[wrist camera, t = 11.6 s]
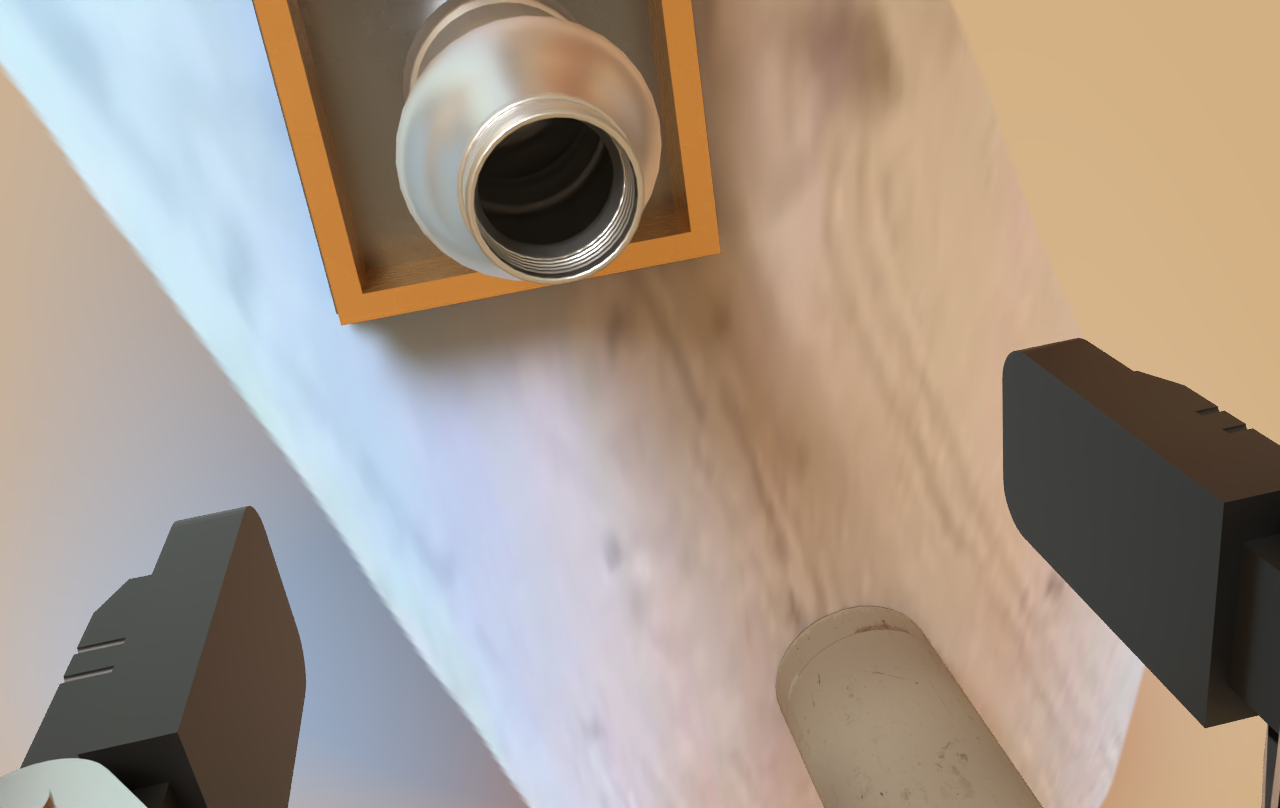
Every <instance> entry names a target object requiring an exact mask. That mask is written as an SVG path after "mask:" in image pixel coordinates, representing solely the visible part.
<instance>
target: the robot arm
mask: <svg viewBox="0 0 1280 808" xmlns="http://www.w3.org/2000/svg"><path fill="white" fill-rule="evenodd" d="M1002 382H1003V480H1004V491H1005V496H1006V501H1007V504H1008V508H1009V511H1010V514H1011V516H1012V518H1013V521H1014V523H1015V525H1016V527H1017V528H1018V530H1019V532H1020V533H1021V534H1022V536H1023V537H1024V538H1025V539H1026V540H1027V541H1028V542H1029V543H1030V544H1031V545H1032V547H1033V548H1034V549H1035V550H1036V551H1037V552H1038V553H1039V554H1040V555H1041V556H1042V557H1043V558H1044V559H1045V560H1046V561H1047V562H1048V563H1049V564H1050V565H1051V567H1052V568H1053V569H1054V570H1055V571H1056V572H1057V573H1058V574H1059V575H1060V576H1061V577H1062V578H1063V579H1064V580H1065V581H1066V582H1067V583H1068V584H1069V585H1070V587H1071V588H1072V589H1073V590H1074V591H1075V592H1076V593H1077V594H1078V595H1079V596H1080V597H1081V598H1082V599H1083V600H1084V601H1085V602H1086V603H1087V604H1088V606H1089V607H1090V608H1091V609H1092V610H1093V611H1094V612H1095V613H1096V614H1097V615H1098V616H1099V617H1100V618H1101V619H1102V620H1103V621H1104V622H1105V623H1106V624H1107V626H1108V627H1109V628H1110V629H1111V630H1112V631H1113V632H1114V633H1115V634H1116V635H1117V636H1118V637H1119V638H1120V639H1121V640H1122V641H1123V642H1124V643H1125V644H1126V646H1127V647H1128V648H1129V649H1130V650H1131V651H1132V652H1133V653H1134V654H1135V655H1136V656H1137V657H1138V658H1139V659H1140V660H1141V661H1142V662H1143V663H1144V665H1145V666H1146V667H1147V668H1148V669H1149V670H1151V672H1152V673H1153V674H1154V675H1155V676H1156V677H1157V678H1158V679H1159V680H1160V681H1161V682H1162V683H1163V685H1164V686H1165V687H1167V689H1168V690H1169V691H1170V692H1171V693H1172V694H1173V695H1174V696H1175V697H1176V698H1177V699H1178V700H1179V701H1180V702H1181V703H1182V705H1183V706H1184V707H1185V708H1186V709H1187V710H1188V711H1189V712H1190V713H1191V714H1192V715H1193V716H1194V717H1195V718H1196V719H1197V720H1198V721H1199V722H1200V724H1201V725H1203V726H1204V728H1208V727H1212V726H1216V725H1220V724H1225V723H1229V722H1233V721H1237V720H1241V719H1245V718H1249V717H1253V716H1258V715H1259V716H1260V717H1261V718H1262V719H1263V720H1264V721H1265V722H1266V723H1267V732H1266V741H1265V750H1264V763H1263V784H1262V785H1263V786H1262V807H1261V808H1280V445H1278V444H1277V443H1275V442H1273V441H1272V440H1270V439H1268V438H1267V437H1265V436H1264V435H1262V434H1260V433H1259V432H1258V431H1256V430H1254V429H1248V430H1247V428H1246V424H1245V423H1243V422H1242V421H1240V420H1238V419H1237V418H1235V417H1234V416H1232V415H1231V414H1229V413H1227V412H1226V411H1221V412H1219V410H1218V406H1216V405H1215V404H1213V403H1211V402H1210V401H1208V400H1206V399H1205V398H1204V397H1202V396H1200V395H1199V394H1197V393H1196V392H1194V391H1192V390H1191V389H1189V388H1188V387H1186V386H1184V385H1181V384H1178V383H1175V382H1172V381H1168V380H1165V379H1162V378H1159V377H1155V376H1152V375H1149V374H1145V373H1142V372H1139V371H1132V370H1131V369H1129V368H1127V367H1126V366H1125V365H1123V364H1122V363H1120V362H1119V361H1117V360H1115V359H1114V358H1112V357H1111V356H1109V355H1108V354H1106V353H1105V352H1103V351H1102V350H1100V349H1099V348H1097V347H1096V346H1094V345H1093V344H1091V343H1090V342H1088V341H1086V340H1084V339H1081V338H1077V339H1071V340H1066V341H1062V342H1057V343H1052V344H1047V345H1042V346H1037V347H1032V348H1027V349H1022V350H1018V351H1013V352H1011V353H1010V354H1009V355H1008V356H1007V358H1006V361H1005V364H1004V368H1003V380H1002ZM77 649H78V654H76V655H74V656H73V658H72V660H71V662H70V664H69V666H68V668H67V670H66V673H65V675H64V680H65V683H62V684H60V685H59V687H58V689H57V691H56V694H55V696H54V698H53V700H52V702H51V704H50V706H49V708H48V710H47V713H46V715H45V717H44V719H43V721H42V723H41V726H40V727H39V730H38V732H37V734H36V736H35V738H34V740H33V742H32V744H31V746H30V749H29V751H28V753H27V755H26V757H25V759H24V761H23V763H22V765H21V768H20V769H19V770H16V771H13V772H11V773H9V774H6V775H4V776H2V777H0V808H288V802H289V796H290V789H291V783H292V776H293V770H294V764H295V757H296V751H297V744H298V738H299V731H300V724H301V718H302V712H303V705H304V698H305V690H306V673H305V663H304V656H303V650H302V645H301V641H300V636H299V633H298V630H297V626H296V623H295V620H294V617H293V614H292V611H291V608H290V605H289V602H288V599H287V596H286V593H285V590H284V587H283V583H282V580H281V578H280V574H279V571H278V568H277V565H276V562H275V559H274V556H273V553H272V550H271V547H270V544H269V541H268V537H267V534H266V531H265V529H264V526H263V523H262V521H261V519H260V517H259V515H258V513H257V512H256V510H255V509H254V508H253V507H251V506H248V507H242V508H237V509H233V510H228V511H223V512H218V513H213V514H208V515H203V516H198V517H194V518H189V519H184V520H179V521H176V522H175V523H174V524H173V525H172V527H171V530H170V532H169V535H168V537H167V539H166V542H165V544H164V547H163V549H162V552H161V554H160V556H159V559H158V561H157V564H156V566H155V568H154V571H153V573H152V575H148V576H144V577H138V578H133V579H129V580H128V581H127V582H126V583H125V584H124V585H123V586H122V587H121V588H120V589H119V590H117V591H116V592H115V593H114V594H113V595H112V596H111V597H110V598H109V599H108V600H107V601H106V602H105V603H104V604H103V605H102V606H101V607H100V608H99V609H98V610H97V611H95V612H94V613H93V616H92V618H91V620H90V622H89V624H88V626H87V628H86V630H85V632H84V634H83V637H82V639H81V641H80V643H79V645H78V647H77Z"/></svg>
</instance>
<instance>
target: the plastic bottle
mask: <svg viewBox="0 0 1280 808" xmlns="http://www.w3.org/2000/svg"><path fill="white" fill-rule="evenodd" d="M403 95H404V101H405V105H404V107H403V110H402V114H401V118H400V122H399V127H398V131H397V136H396V167H397V173H398V178H399V184H400V189H401V191H402V194H403V196H404V199H405V202H406V204H407V207H408V209H409V212H410V213H411V215H412V216H413V218H414V219H415V221H416V222H417V224H418V225H419V227H420V229H421V230H422V232H423V233H424V234H425V235H426V236H427V237H428V238H429V239H430V240H431V241H432V242H433V243H434V244H435V245H436V246H437V247H438V248H439V249H440V250H441V251H442V252H443V253H445V254H446V255H448V256H449V257H451V258H452V259H454V260H455V261H457V262H458V263H460V264H461V265H463V266H465V267H468V268H470V269H472V270H475V271H477V272H480V273H482V274H485V275H488V276H493V277H498V278H503V279H508V280H513V281H527V282H532V283H537V284H541V285H561V284H566V283H572V282H577V281H579V280H582V279H585V278H587V277H590V276H592V275H594V274H596V273H597V272H599V271H601V270H602V269H604V268H606V267H607V266H608V265H609V264H610V263H612V262H613V261H614V260H615V259H616V258H617V257H619V256H620V254H621V253H622V252H623V251H624V249H625V248H626V247H627V245H628V244H629V243H630V241H631V240H632V238H633V236H634V234H635V232H636V230H637V228H638V226H639V222H640V219H641V216H642V213H643V210H644V208H645V206H646V204H647V202H648V200H649V198H650V197H651V194H652V191H653V188H654V185H655V181H656V178H657V175H658V172H659V164H660V155H661V146H662V144H661V133H660V121H659V117H658V113H657V110H656V106H655V103H654V99H653V96H652V94H651V92H650V90H649V88H648V86H647V84H646V82H645V80H644V79H643V77H642V75H641V73H640V72H639V70H638V69H637V68H636V67H635V65H634V64H633V63H632V62H631V61H630V59H629V58H628V57H627V56H626V55H625V53H624V52H623V51H621V50H620V49H619V48H618V47H616V46H615V45H614V44H613V43H611V42H610V41H609V40H608V39H606V38H605V37H604V36H602V35H600V34H598V33H596V32H594V31H592V30H590V29H588V28H586V27H584V26H582V25H580V24H579V22H578V21H577V20H576V19H575V18H574V16H573V15H572V14H571V13H570V12H569V11H568V10H567V9H566V8H565V7H563V6H562V5H561V4H560V3H558V2H557V1H556V0H448V1H446V2H445V3H443V4H442V5H441V6H440V7H439V8H438V9H436V10H435V11H434V12H433V13H432V14H431V15H430V16H429V17H428V18H427V19H426V21H425V22H424V24H423V25H422V26H421V28H420V29H419V31H418V32H417V33H416V35H415V37H414V40H413V42H412V44H411V46H410V49H409V51H408V54H407V58H406V63H405V67H404V71H403Z"/></svg>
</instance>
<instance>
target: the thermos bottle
mask: <svg viewBox="0 0 1280 808" xmlns="http://www.w3.org/2000/svg"><path fill="white" fill-rule="evenodd" d="M776 694H777V700H778V703H779V706H780V709H781V711H782V714H783V716H784V718H785V720H786V723H787V725H788V727H789V729H790V732H791V734H792V736H793V738H794V741H795V743H796V745H797V748H798V750H799V752H800V754H801V757H802V759H803V761H804V763H805V766H806V768H807V770H808V772H809V775H810V777H811V779H812V781H813V784H814V786H815V788H816V790H817V793H818V795H819V797H820V799H821V801H822V804H823V806H824V808H1043V807H1042V806H1041V804H1040V803H1039V801H1038V800H1037V798H1036V797H1035V795H1034V794H1033V792H1032V791H1031V790H1030V788H1029V787H1028V785H1027V784H1026V782H1025V781H1024V779H1023V778H1022V776H1021V775H1020V774H1019V772H1018V771H1017V769H1016V768H1015V766H1014V765H1013V763H1012V762H1011V760H1010V759H1009V757H1008V756H1007V755H1006V753H1005V752H1004V750H1003V749H1002V747H1001V746H1000V744H999V743H998V741H997V740H996V739H995V737H994V736H993V734H992V733H991V731H990V730H989V728H988V727H987V725H986V724H985V723H984V721H983V720H982V718H981V717H980V715H979V714H978V712H977V711H976V709H975V708H974V706H973V705H972V704H971V702H970V701H969V699H968V698H967V696H966V695H965V693H964V692H963V690H962V689H961V688H960V686H959V685H958V683H957V682H956V680H955V679H954V677H953V676H952V674H951V673H950V671H949V670H948V669H947V667H946V666H945V664H944V663H943V661H942V660H941V658H940V657H939V655H938V654H937V653H936V651H935V650H934V648H933V647H932V645H931V644H930V642H929V641H928V639H927V638H926V637H925V635H924V634H923V632H922V631H921V629H920V628H919V627H918V626H917V625H916V624H915V623H914V622H913V621H912V620H910V619H909V618H907V617H906V616H904V615H902V614H901V613H898V612H895V611H893V610H890V609H887V608H881V607H874V606H865V607H854V608H849V609H844V610H840V611H838V612H835V613H833V614H830V615H827V616H825V617H824V618H822V619H820V620H819V621H817V622H815V623H813V624H812V625H811V626H809V627H808V628H807V629H806V630H805V631H803V632H802V633H801V634H800V635H799V636H798V637H797V638H796V639H795V641H794V642H793V643H792V644H791V645H790V647H789V648H788V650H787V652H786V653H785V655H784V657H783V658H782V661H781V664H780V666H779V669H778V672H777V680H776Z"/></svg>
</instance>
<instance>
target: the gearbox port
mask: <svg viewBox="0 0 1280 808" xmlns="http://www.w3.org/2000/svg"><path fill="white" fill-rule="evenodd" d="M446 1H448V0H252V2H253V6H254V10H255V13H256V17H257V21H258V25H259V28H260V32H261V36H262V39H263V43H264V47H265V50H266V54H267V58H268V61H269V65H270V69H271V73H272V76H273V80H274V84H275V87H276V91H277V95H278V98H279V102H280V106H281V110H282V113H283V117H284V121H285V124H286V128H287V132H288V135H289V139H290V143H291V147H292V150H293V154H294V158H295V161H296V165H297V169H298V172H299V176H300V180H301V184H302V187H303V191H304V195H305V198H306V202H307V206H308V209H309V213H310V217H311V221H312V224H313V228H314V232H315V235H316V239H317V243H318V246H319V250H320V254H321V258H322V261H323V265H324V269H325V272H326V276H327V280H328V283H329V287H330V291H331V295H332V298H333V302H334V306H335V309H336V313H337V314H338V315H339V319H340V322H341V325H347V324H352V323H357V322H362V321H368V320H373V319H378V318H383V317H389V316H394V315H399V314H404V313H409V312H415V311H420V310H425V309H430V308H436V307H441V306H446V305H451V304H457V303H462V302H467V301H472V300H477V299H483V298H488V297H493V296H498V295H504V294H509V293H514V292H519V291H525V290H530V289H535V288H540V287H546V286H551V285H541V284H537V283H532V282H527V281H513V280H508V279H503V278H498V277H493V276H488V275H485V274H482V273H480V272H477V271H475V270H472V269H470V268H468V267H465V266H463V265H461V264H460V263H458V262H457V261H455V260H454V259H452V258H451V257H449V256H448V255H446V254H445V253H443V252H442V251H441V250H440V249H439V248H438V247H437V246H436V245H435V244H434V243H433V242H432V241H431V240H430V239H429V238H428V237H427V236H426V235H425V234H424V233H423V232H422V230H421V229H420V227H419V225H418V224H417V222H416V221H415V219H414V218H413V216H412V215H411V213H410V212H409V209H408V207H407V204H406V202H405V199H404V196H403V194H402V191H401V189H400V184H399V178H398V173H397V167H396V136H397V131H398V127H399V122H400V118H401V114H402V110H403V107H404V105H405V101H404V95H403V71H404V67H405V63H406V58H407V54H408V51H409V49H410V46H411V44H412V42H413V40H414V37H415V35H416V33H417V32H418V31H419V29H420V28H421V26H422V25H423V24H424V22H425V21H426V19H427V18H428V17H429V16H430V15H431V14H432V13H433V12H434V11H435V10H436V9H438V8H439V7H440V6H441V5H442V4H443V3H445V2H446ZM556 1H557V2H558V3H560V4H561V5H562V6H563V7H565V8H566V9H567V10H568V11H569V12H570V13H571V14H572V15H573V16H574V18H575V19H576V20H577V21H578V22H579V24H580V25H582V26H584V27H586V28H588V29H590V30H592V31H594V32H596V33H598V34H600V35H602V36H604V37H605V38H606V39H608V40H609V41H610V42H611V43H613V44H614V45H615V46H616V47H618V48H619V49H620V50H621V51H623V52H624V53H625V55H626V56H627V57H628V58H629V59H630V61H631V62H632V63H633V64H634V65H635V67H636V68H637V69H638V70H639V72H640V73H641V75H642V77H643V79H644V80H645V82H646V84H647V86H648V88H649V90H650V92H651V94H652V96H653V99H654V103H655V106H656V110H657V113H658V117H659V121H660V133H661V144H662V146H661V155H660V164H659V172H658V175H657V178H656V181H655V185H654V188H653V191H652V194H651V197H650V198H649V200H648V202H647V204H646V206H645V208H644V210H643V213H642V216H641V219H640V222H639V226H638V228H637V230H636V232H635V234H634V236H633V238H632V240H631V241H630V243H629V244H628V245H627V247H626V248H625V249H624V251H623V252H622V253H621V254H620V256H619V257H617V258H616V259H615V260H614V261H613V262H612V263H610V264H609V265H608V266H607V267H606V268H604V269H602V270H601V271H599V272H597V273H596V274H594V275H592V276H590V277H587V278H593V277H598V276H603V275H608V274H614V273H619V272H624V271H629V270H635V269H640V268H645V267H650V266H655V265H661V264H666V263H671V262H676V261H682V260H687V259H692V258H697V257H703V256H708V255H713V254H718V253H721V251H720V243H719V234H718V226H717V217H716V209H715V200H714V191H713V183H712V174H711V166H710V157H709V149H708V140H707V132H706V123H705V114H704V106H703V97H702V89H701V80H700V72H699V63H698V55H697V46H696V37H695V29H694V20H693V12H692V3H691V0H556ZM587 278H585V279H587Z"/></svg>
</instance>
